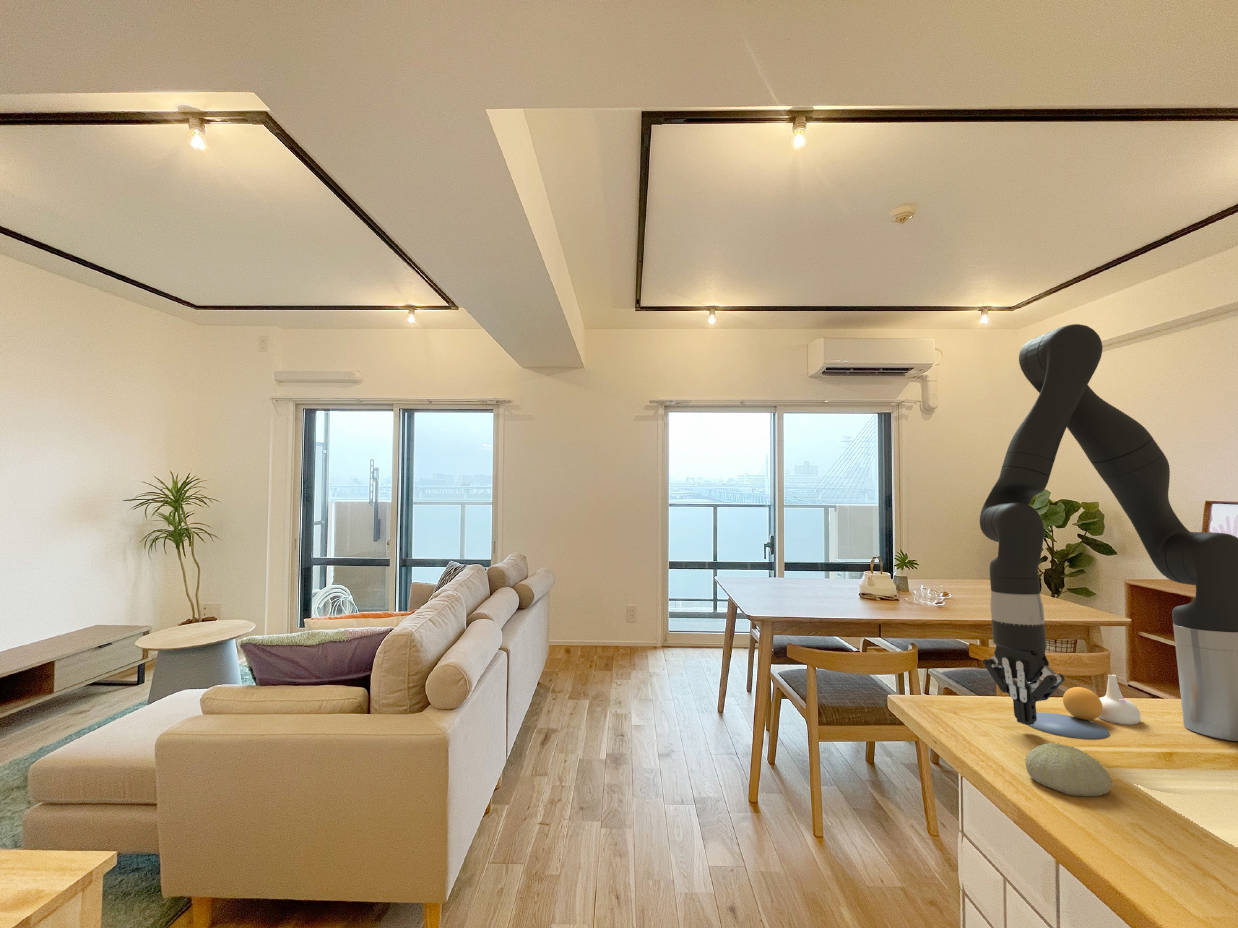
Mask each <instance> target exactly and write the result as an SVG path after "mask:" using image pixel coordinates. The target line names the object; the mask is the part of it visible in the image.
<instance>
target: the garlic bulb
mask: <svg viewBox="0 0 1238 928" xmlns="http://www.w3.org/2000/svg"><path fill="white" fill-rule="evenodd" d="M1099 699H1100V700H1101V703H1102V713H1101V714H1100V716H1099V717H1098V718H1099V719H1101V720H1103V721H1106V722H1109V723H1112V724H1113V723H1114V724H1119V725H1126V726H1127V725H1129V726H1131V725H1133V726H1134V725H1137V724H1139V723H1140V722H1141V719H1142V718H1141V717H1142V716H1141V712H1140V710H1139V708H1138V707H1137V706H1136V704H1134V703H1133V702H1131V701H1130V700H1128V699H1126V700H1119V699H1125V698H1124V697H1123V695H1122V693H1121V690H1120V686H1119V683H1118V679H1117V675H1116V674H1108V675H1107V685H1106V692H1105V695H1104V696H1101V697H1099Z"/></svg>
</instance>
